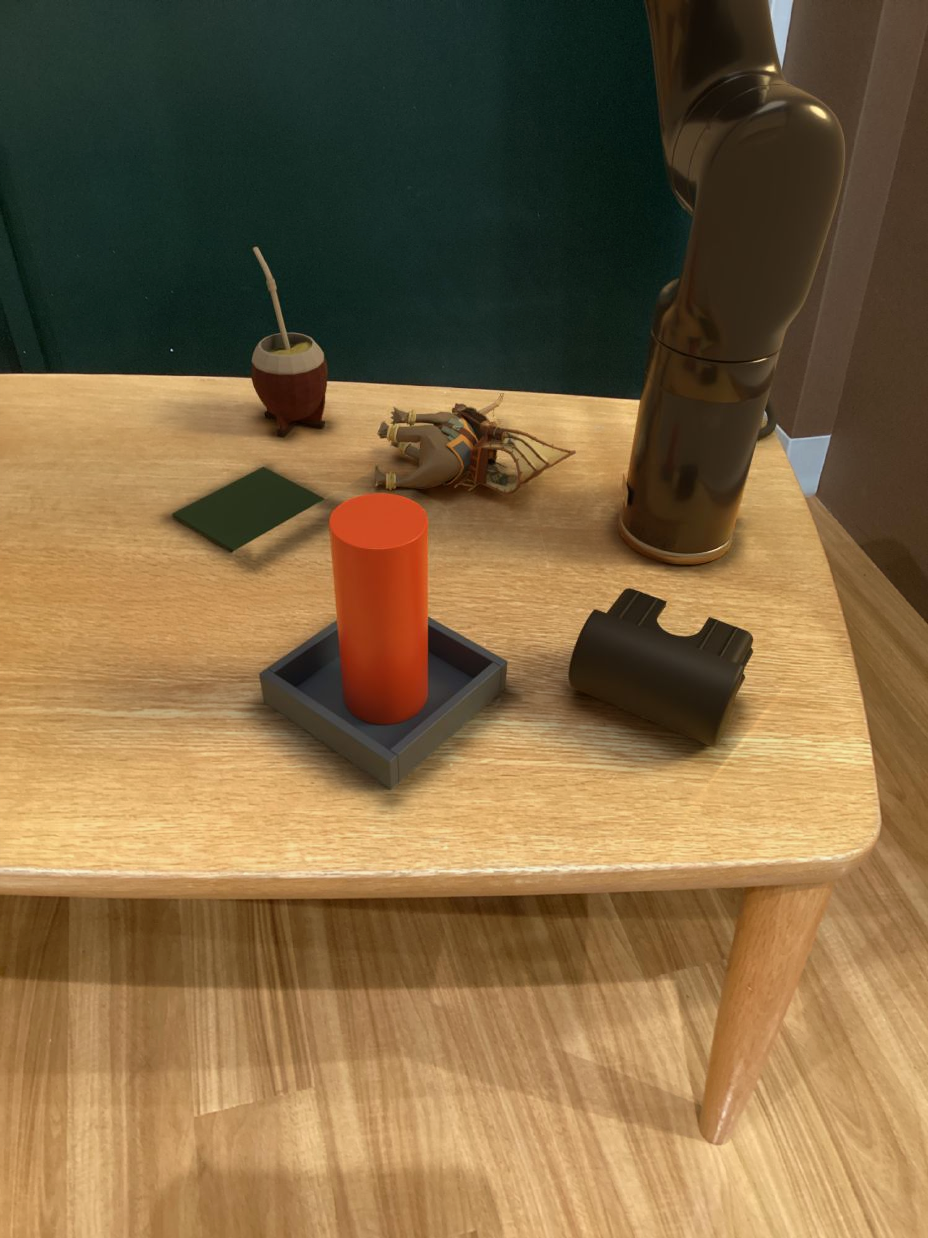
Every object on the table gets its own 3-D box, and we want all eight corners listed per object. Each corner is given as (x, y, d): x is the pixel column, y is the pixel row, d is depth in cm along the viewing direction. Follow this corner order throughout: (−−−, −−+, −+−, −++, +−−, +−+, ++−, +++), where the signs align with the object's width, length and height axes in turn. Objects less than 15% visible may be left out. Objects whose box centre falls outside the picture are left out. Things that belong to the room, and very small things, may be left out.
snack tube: (383, 654, 64) (376, 481, 55) (445, 691, 62) (448, 517, 53) (325, 697, 61) (307, 522, 52) (388, 738, 58) (380, 561, 49)
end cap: (561, 711, 61) (571, 634, 57) (605, 650, 66) (618, 575, 61) (705, 773, 57) (728, 697, 53) (741, 704, 62) (765, 628, 58)
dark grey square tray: (382, 621, 68) (380, 589, 66) (505, 693, 62) (507, 660, 60) (263, 706, 61) (258, 673, 59) (390, 795, 56) (389, 762, 54)
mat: (263, 470, 83) (263, 466, 83) (342, 511, 78) (342, 507, 78) (172, 517, 77) (171, 513, 77) (252, 565, 72) (251, 560, 72)
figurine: (412, 362, 89) (587, 384, 86) (412, 421, 92) (579, 443, 90) (351, 455, 73) (563, 485, 71) (353, 521, 76) (555, 551, 74)
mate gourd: (312, 445, 87) (297, 286, 77) (237, 430, 88) (213, 273, 79) (344, 409, 92) (334, 257, 82) (272, 396, 94) (254, 245, 84)
